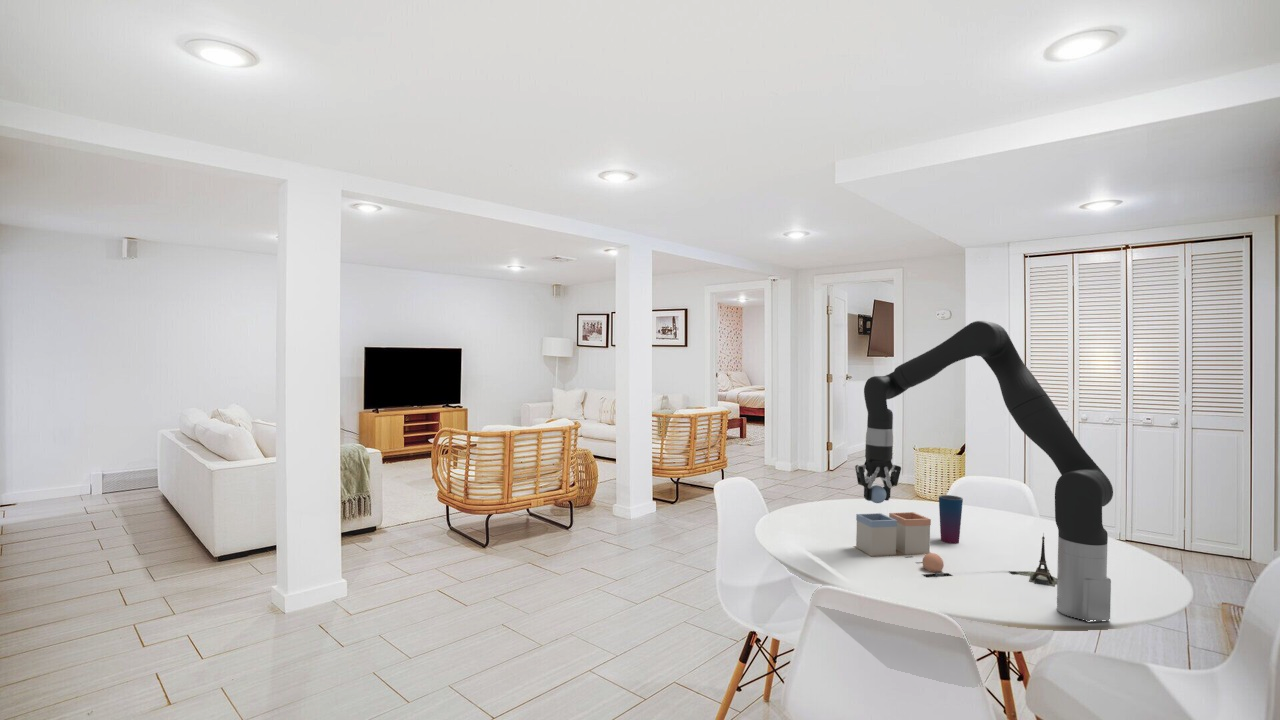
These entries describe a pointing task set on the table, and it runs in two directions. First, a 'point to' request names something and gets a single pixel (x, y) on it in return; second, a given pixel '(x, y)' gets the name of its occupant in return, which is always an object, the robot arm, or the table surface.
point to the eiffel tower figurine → (1039, 572)
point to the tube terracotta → (912, 533)
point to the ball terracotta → (933, 562)
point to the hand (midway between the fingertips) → (876, 499)
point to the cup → (950, 518)
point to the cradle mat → (934, 572)
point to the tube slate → (876, 534)
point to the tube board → (892, 555)
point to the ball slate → (878, 494)
